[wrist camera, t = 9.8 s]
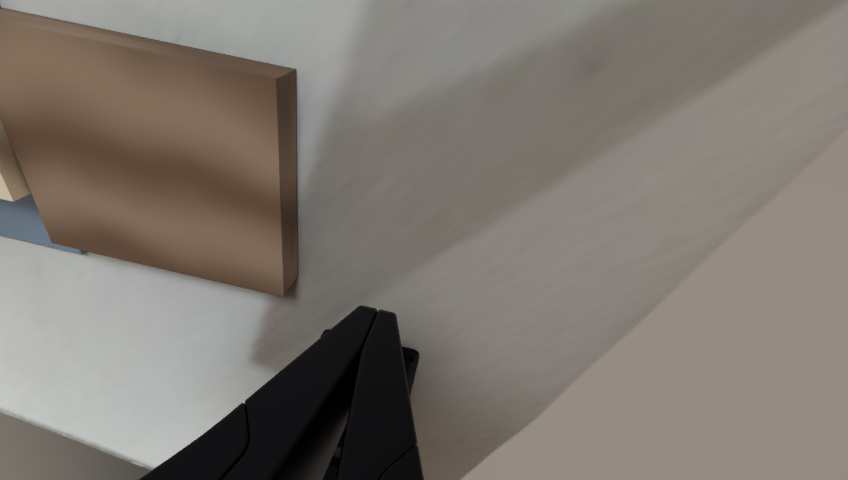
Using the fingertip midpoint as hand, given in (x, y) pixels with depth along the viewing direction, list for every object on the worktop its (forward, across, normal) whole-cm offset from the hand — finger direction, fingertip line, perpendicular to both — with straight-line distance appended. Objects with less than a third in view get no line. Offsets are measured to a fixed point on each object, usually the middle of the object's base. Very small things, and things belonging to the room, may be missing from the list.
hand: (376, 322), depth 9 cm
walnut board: (+12, +14, +4) cm, 19 cm away
